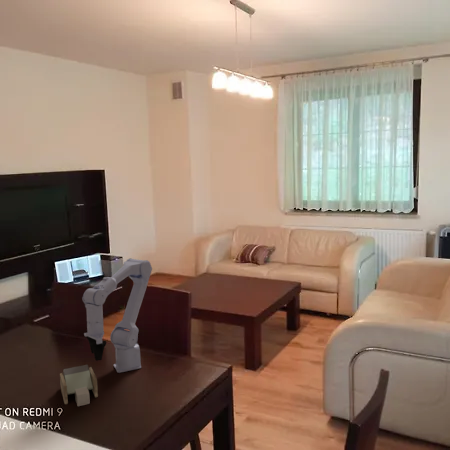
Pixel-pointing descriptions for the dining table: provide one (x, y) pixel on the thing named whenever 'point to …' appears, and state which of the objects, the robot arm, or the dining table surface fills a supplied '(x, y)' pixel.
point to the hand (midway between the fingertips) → (96, 356)
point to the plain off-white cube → (82, 396)
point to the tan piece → (64, 386)
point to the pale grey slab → (77, 378)
